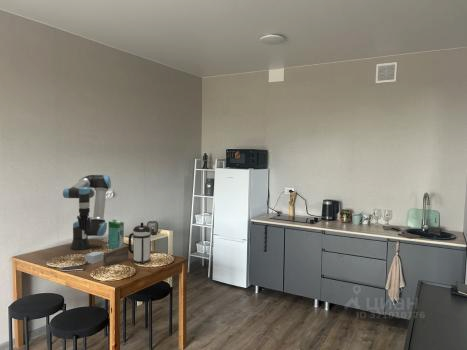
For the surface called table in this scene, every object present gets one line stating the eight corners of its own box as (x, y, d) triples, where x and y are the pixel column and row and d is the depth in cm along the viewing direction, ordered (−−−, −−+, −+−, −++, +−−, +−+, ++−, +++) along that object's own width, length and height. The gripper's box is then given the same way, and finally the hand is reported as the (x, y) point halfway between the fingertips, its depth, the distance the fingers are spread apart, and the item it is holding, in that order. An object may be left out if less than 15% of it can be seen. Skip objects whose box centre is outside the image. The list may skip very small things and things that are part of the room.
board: (103, 266, 254) (103, 252, 253) (124, 258, 274) (124, 245, 273) (107, 266, 252) (107, 253, 251) (128, 258, 272) (128, 246, 271)
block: (85, 262, 261) (84, 254, 260) (95, 259, 270) (95, 251, 270) (93, 264, 258) (93, 256, 257) (103, 260, 267) (103, 252, 266)
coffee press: (151, 257, 276) (151, 220, 274) (152, 264, 261) (152, 224, 259) (128, 258, 272) (128, 220, 270) (127, 265, 256) (128, 224, 255)
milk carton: (118, 251, 291) (118, 221, 289) (108, 250, 293) (108, 221, 291) (123, 248, 300) (123, 219, 298) (114, 247, 302) (114, 219, 300)
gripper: (73, 207, 265) (74, 238, 266) (86, 209, 259) (86, 240, 261) (81, 206, 271) (81, 236, 273) (94, 207, 266) (94, 238, 268)
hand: (84, 238), depth 267 cm, fingers closed
